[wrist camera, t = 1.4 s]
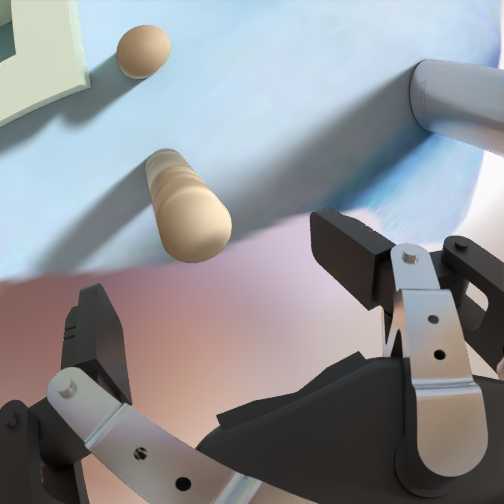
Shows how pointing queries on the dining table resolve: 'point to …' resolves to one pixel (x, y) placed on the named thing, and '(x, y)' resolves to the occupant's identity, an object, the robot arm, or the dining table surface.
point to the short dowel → (143, 51)
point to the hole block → (41, 56)
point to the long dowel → (185, 209)
